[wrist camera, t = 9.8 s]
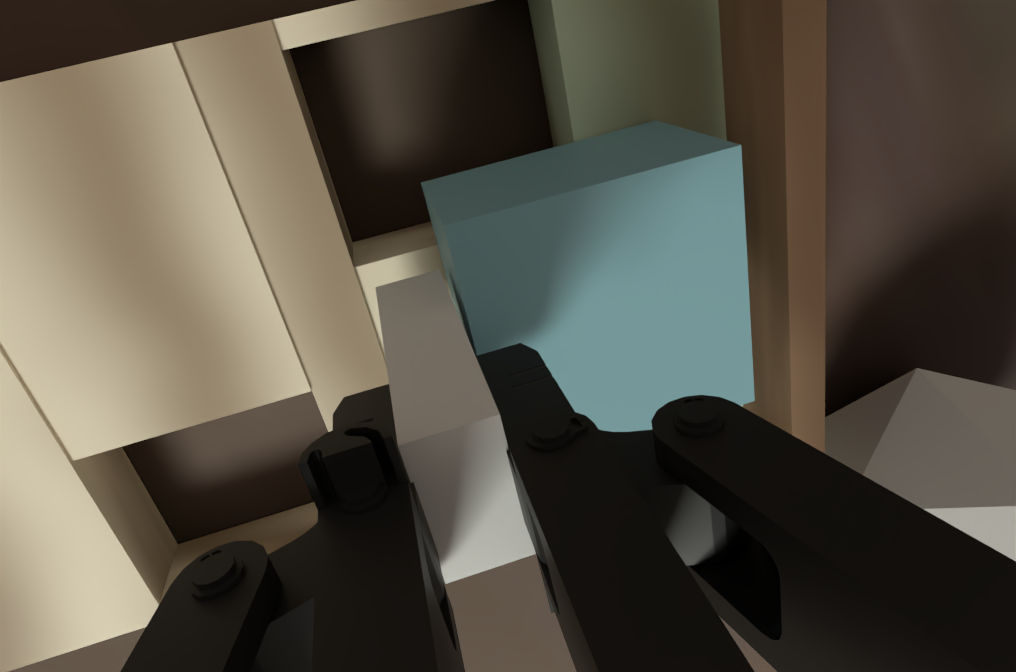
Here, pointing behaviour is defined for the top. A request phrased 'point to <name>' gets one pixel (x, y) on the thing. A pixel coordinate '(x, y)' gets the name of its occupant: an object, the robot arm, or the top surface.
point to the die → (937, 449)
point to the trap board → (311, 261)
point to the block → (608, 267)
